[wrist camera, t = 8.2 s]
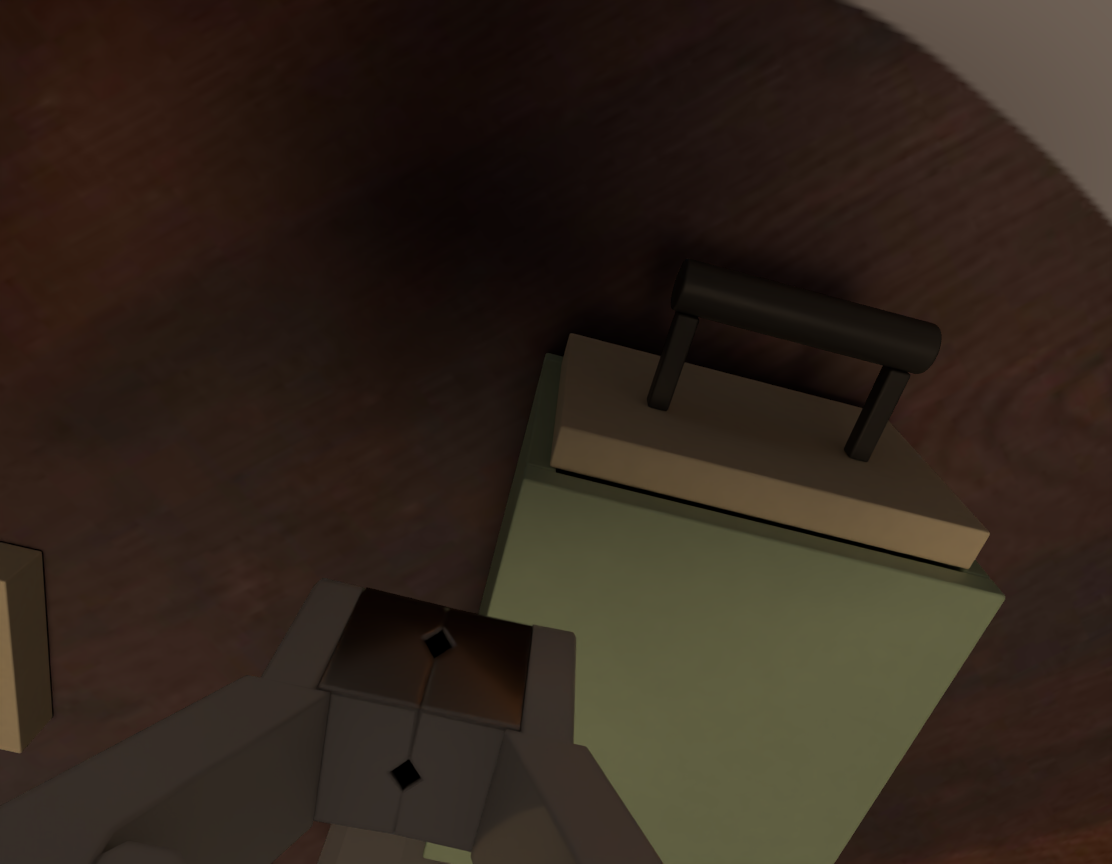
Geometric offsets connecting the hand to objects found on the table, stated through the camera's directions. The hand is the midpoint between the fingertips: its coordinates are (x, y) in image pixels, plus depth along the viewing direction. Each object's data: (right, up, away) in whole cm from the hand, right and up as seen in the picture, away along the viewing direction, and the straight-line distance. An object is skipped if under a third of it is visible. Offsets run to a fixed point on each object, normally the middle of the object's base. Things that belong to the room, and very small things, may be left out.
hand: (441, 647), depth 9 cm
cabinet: (+5, -2, +21) cm, 22 cm away
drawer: (+6, +1, +19) cm, 20 cm away
